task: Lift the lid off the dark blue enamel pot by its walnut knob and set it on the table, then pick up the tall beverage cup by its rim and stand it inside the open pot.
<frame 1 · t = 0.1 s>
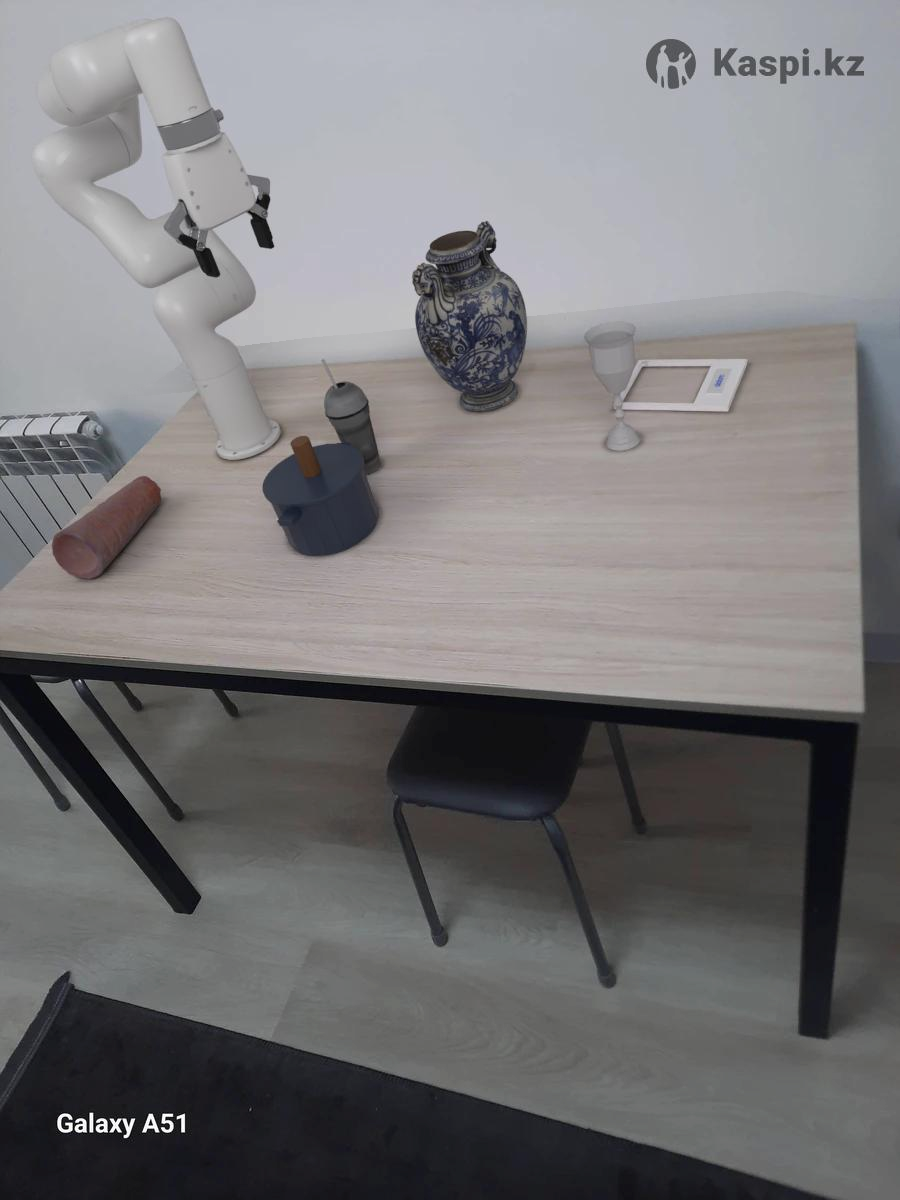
hand: (240, 261, 123), 37 cm above the table, tool pointing down, fingers open, 9 cm apart
lid: (313, 475, 127), point 9 cm above the table, touching pot
chalice: (623, 442, 132), on the table
food: (129, 540, 145), on the table
beverage cup: (368, 468, 145), on the table
photo frame: (681, 387, 140), on the table
decorative vase: (488, 397, 153), on the table
pot: (333, 526, 133), on the table
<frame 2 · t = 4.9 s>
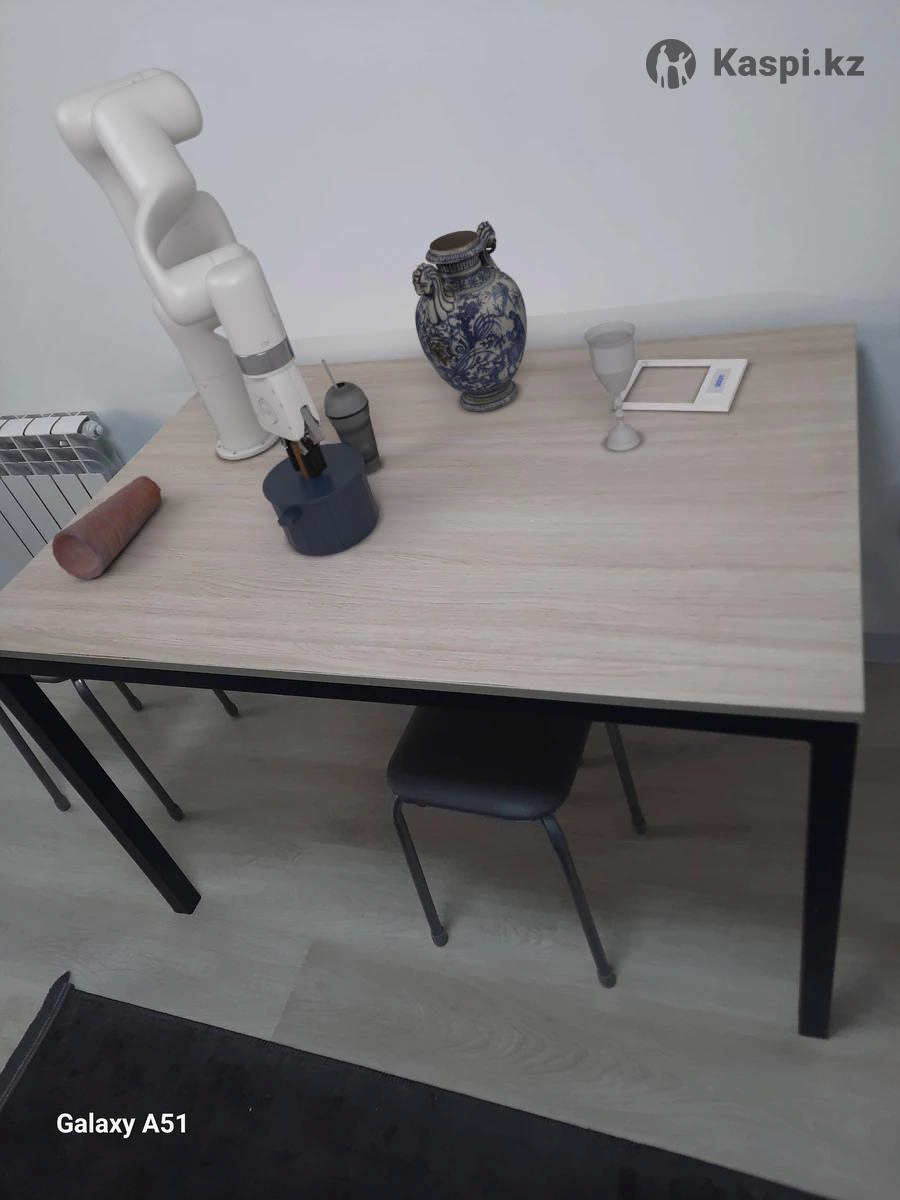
hand: (310, 468, 126), 11 cm above the table, tool pointing down, fingers closed on lid, 2 cm apart
lid: (313, 475, 127), point 10 cm above the table, touching gripper, pot
everything else where it was.
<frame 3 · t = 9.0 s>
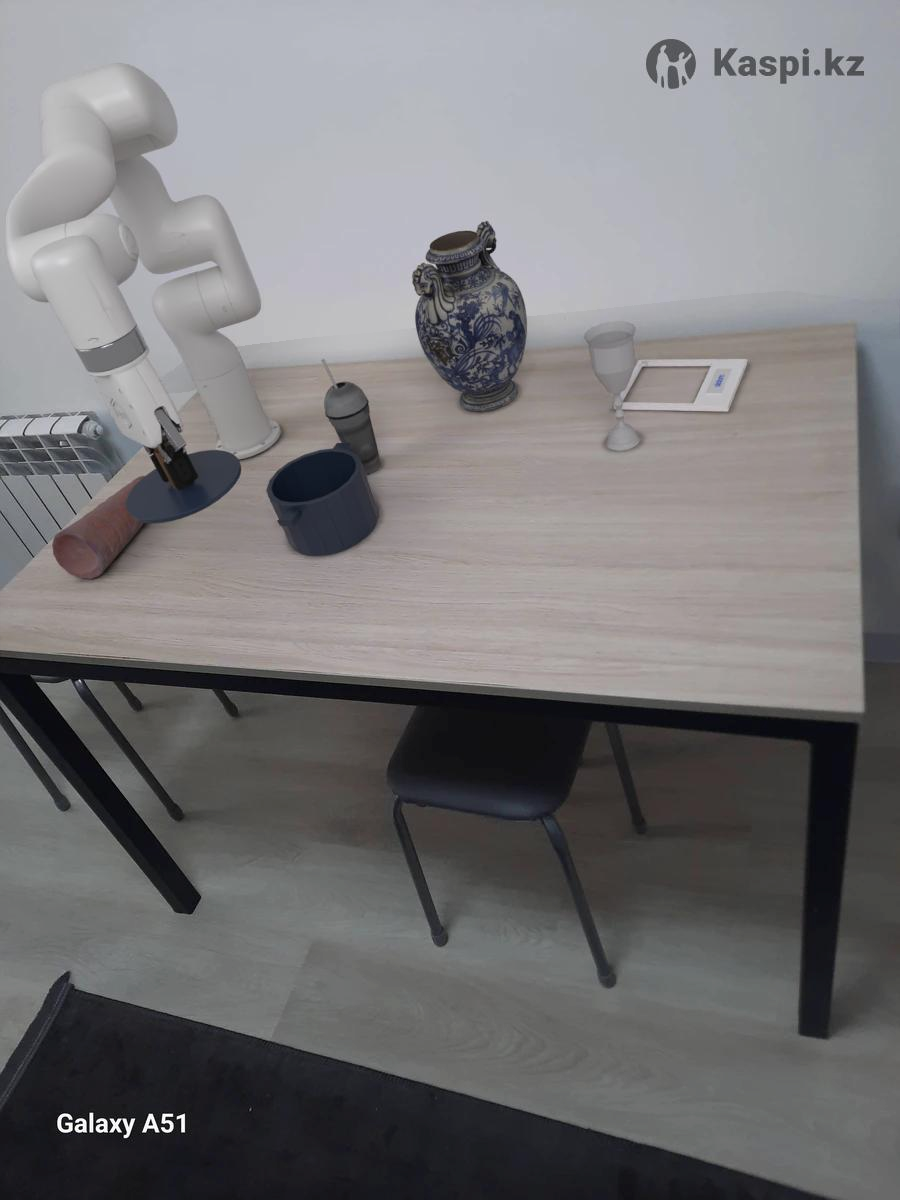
hand: (180, 478, 111), 21 cm above the table, tool pointing down, fingers closed on lid, 2 cm apart
lid: (184, 486, 112), point 20 cm above the table, touching gripper
everything else where it was.
when the fingers open (2 cm above the table, at t = 13.2 s): lid stays where it is, point 1 cm above the table.
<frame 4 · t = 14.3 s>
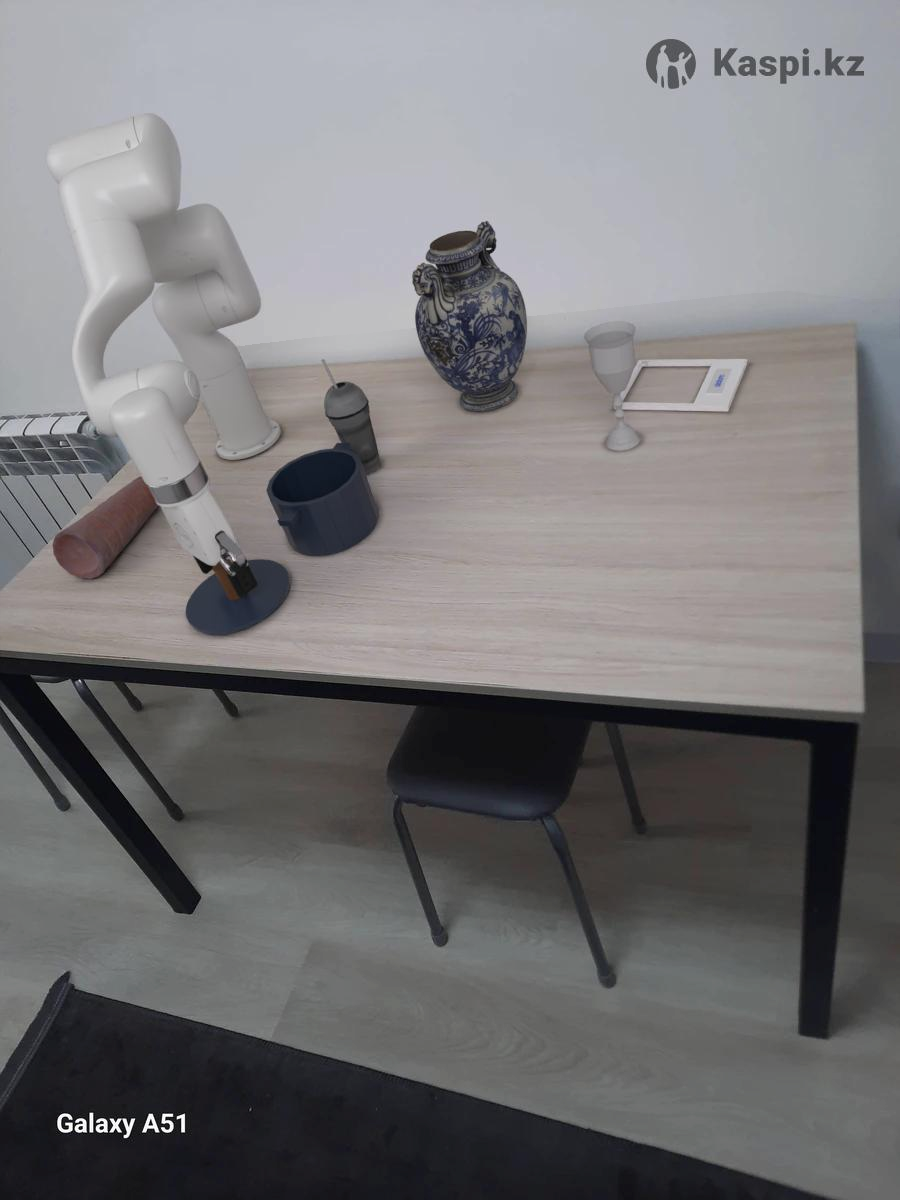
hand: (230, 579, 122), 4 cm above the table, tool pointing down, fingers open, 9 cm apart
lid: (238, 596, 124), point 1 cm above the table
everything else where it was.
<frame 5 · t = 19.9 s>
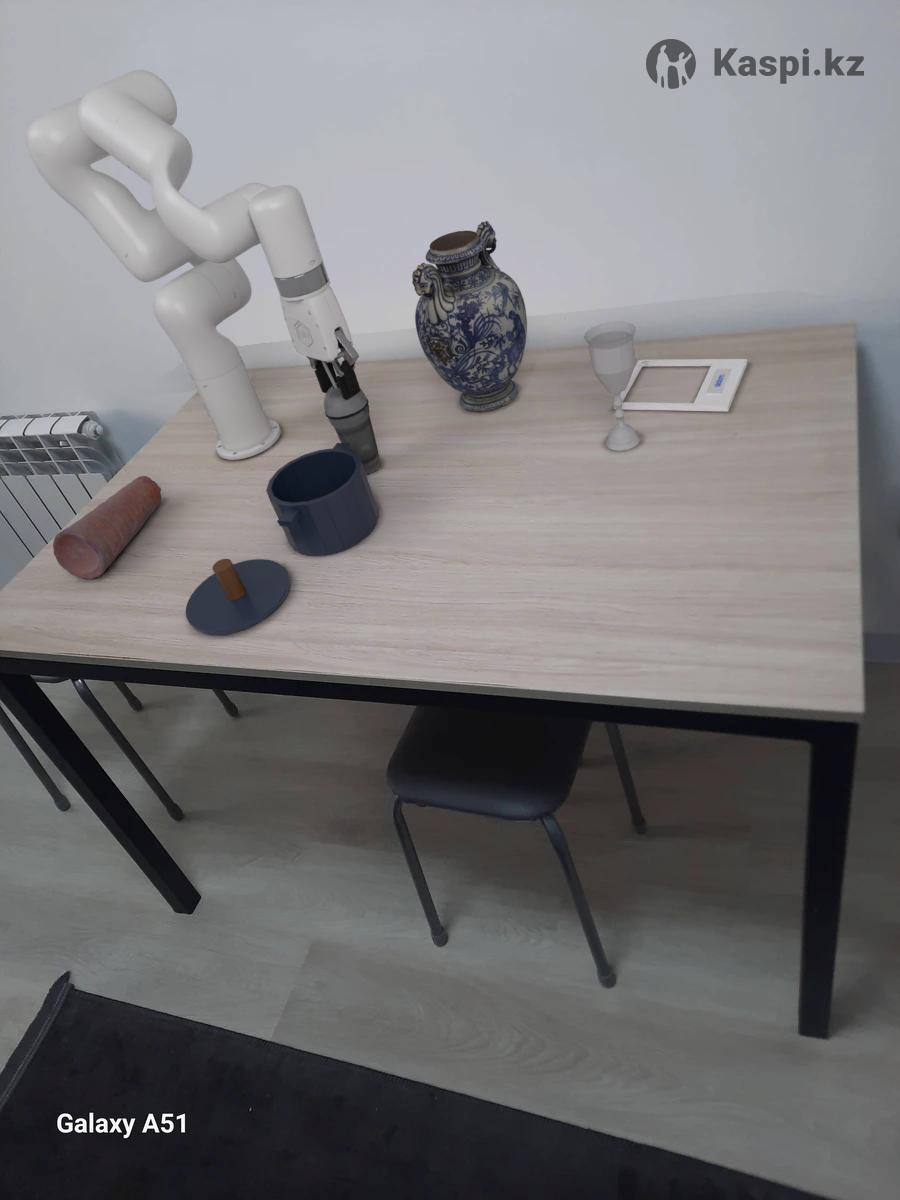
hand: (341, 391, 135), 14 cm above the table, tool pointing down, fingers closed on beverage cup, 4 cm apart
beverage cup: (368, 468, 145), on the table, touching gripper
everything else where it was.
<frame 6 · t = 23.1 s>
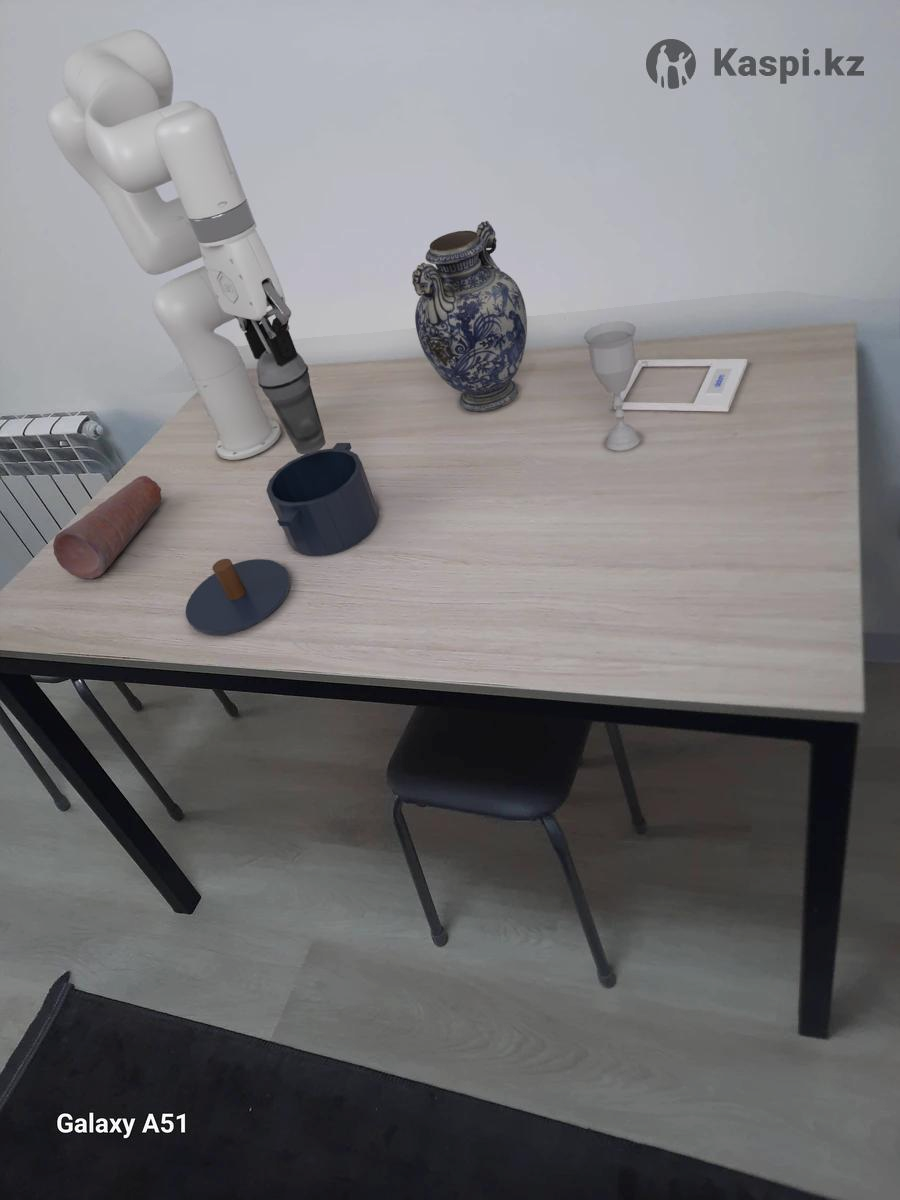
hand: (275, 356, 117), 28 cm above the table, tool pointing down, fingers closed on beverage cup, 4 cm apart
beverage cup: (311, 446, 127), point 13 cm above the table, touching gripper
everything else where it was.
when the fingers open (15 cm above the table, at t = 26.4 s): beverage cup stays where it is, resting on pot.
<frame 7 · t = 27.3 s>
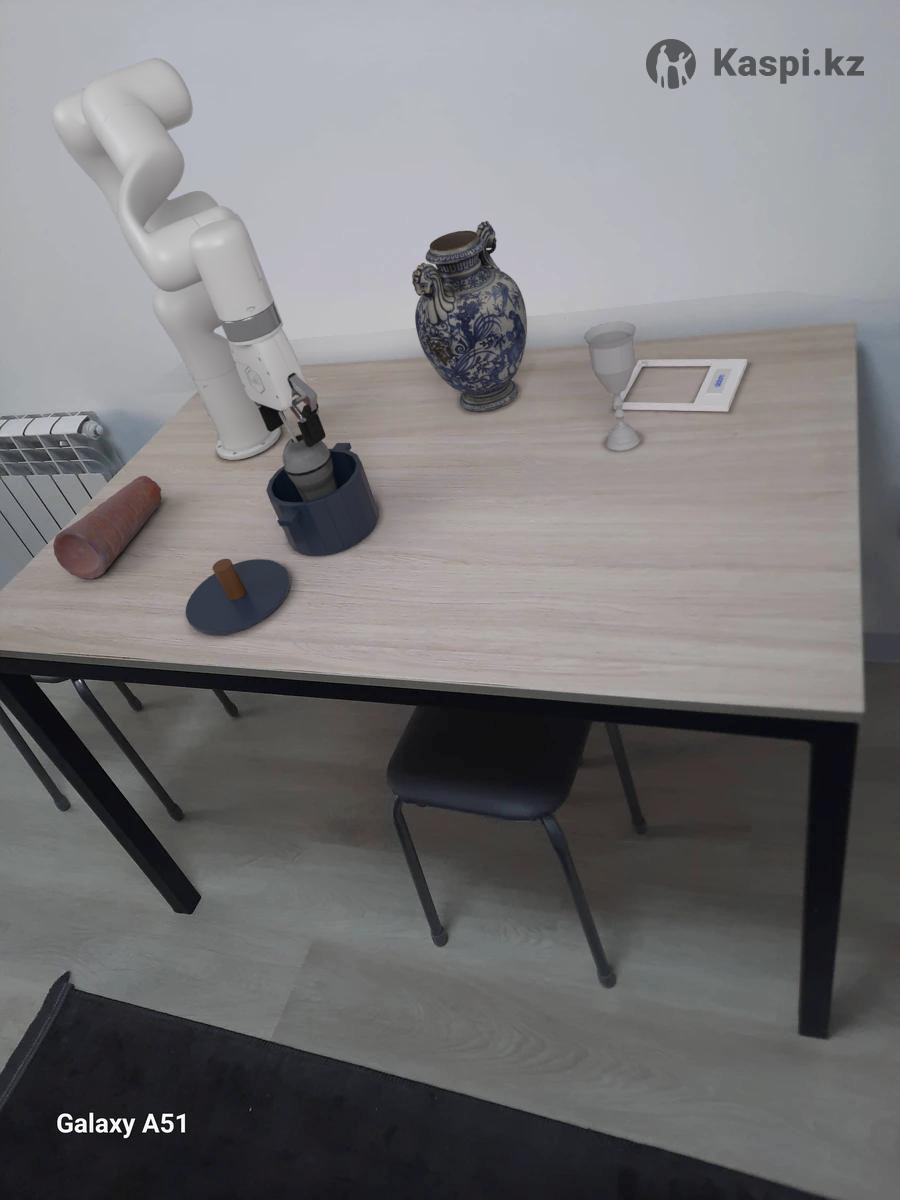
hand: (296, 434, 123), 17 cm above the table, tool pointing down, fingers open, 9 cm apart
beverage cup: (333, 524, 133), resting on pot
everything else where it was.
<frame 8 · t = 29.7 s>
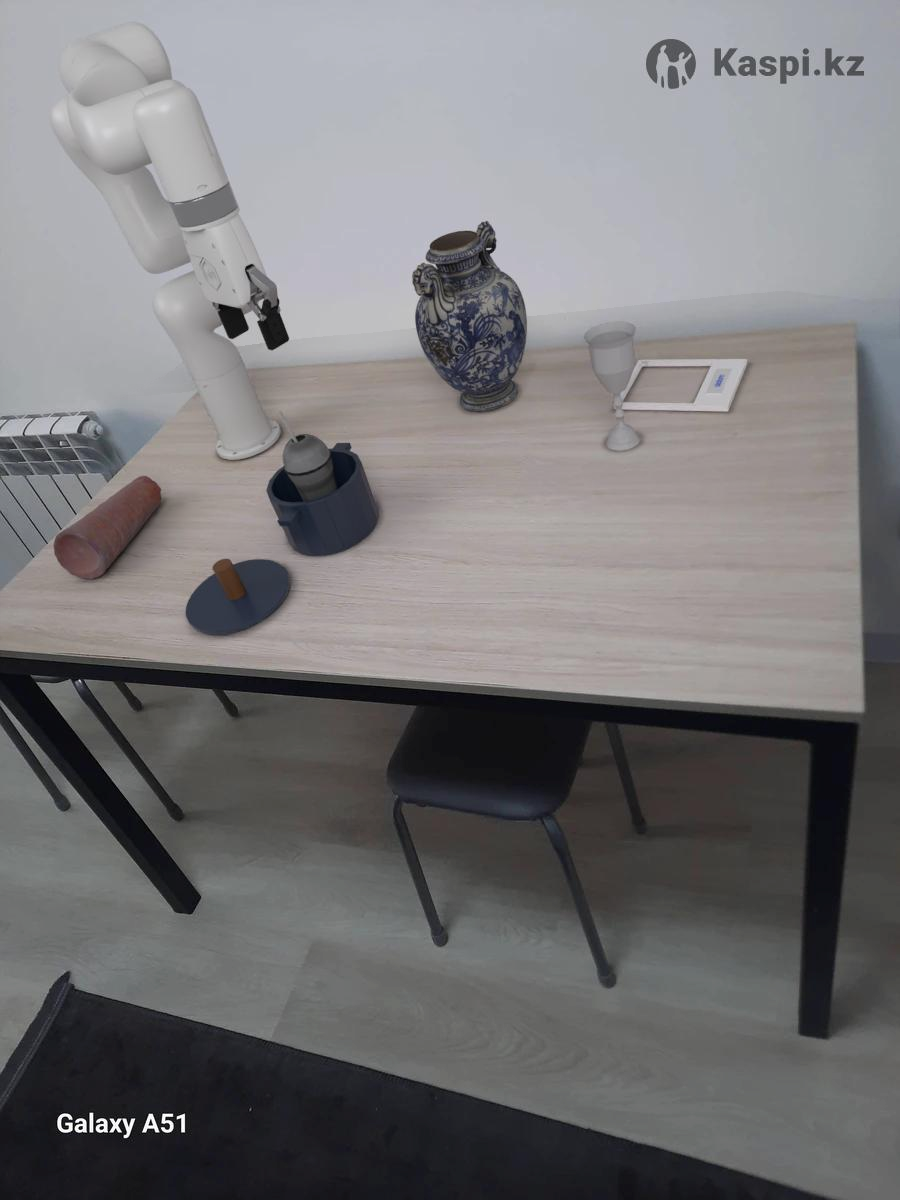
hand: (258, 339, 113), 31 cm above the table, tool pointing down, fingers open, 9 cm apart
nothing on the table moved.
at the end: lid inside the target area (0.0 cm from its centre), point 0.6 cm above the table; beverage cup inside the target area in the pot (0.1 cm from its centre), point 0.3 cm above the pot's base; beverage cup tilted 0° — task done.
